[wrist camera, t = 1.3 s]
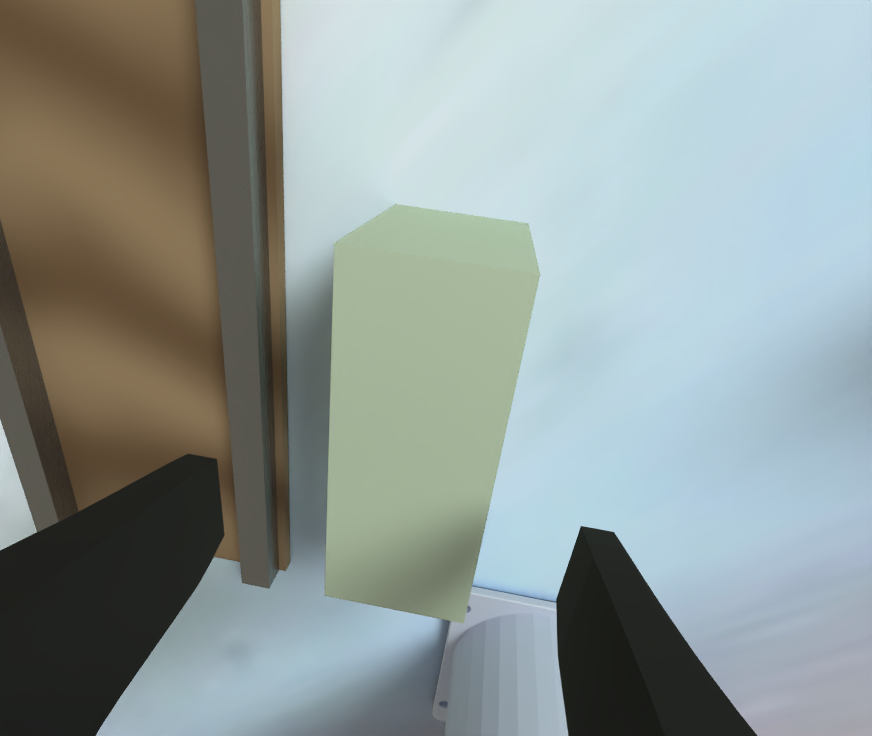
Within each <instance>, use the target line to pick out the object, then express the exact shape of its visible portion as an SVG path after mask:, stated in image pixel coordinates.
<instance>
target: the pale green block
mask: <svg viewBox="0 0 872 736" xmlns="http://www.w3.org/2000/svg"><path fill="white" fill-rule="evenodd" d="M539 277H540V271H539V267H538V263H537V259H536V254H535V250H534V246H533V241H532V237H531V233H530V229H529V224H528V223H522V222H515V221H508V220H501V219H494V218H487V217H480V216H474V215H467V214H460V213H453V212H446V211H439V210H432V209H425V208H419V207H412V206H405V205H398V204H396V205H394V206H392V207H391V208H389V209H388V210H386V211H384V212H383V213H381V214H380V215H378V216H376V217H375V218H373V219H372V220H370V221H368V222H367V223H365V224H364V225H362V226H360V227H359V228H357V229H356V230H354V231H353V232H351V233H349V234H348V235H346V236H345V237H343V238H341V239H340V240H338V241H337V242H335V243H334V270H333V307H332V344H331V381H330V418H329V455H328V492H327V529H326V566H325V596H329V597H334V598H339V599H344V600H349V601H354V602H359V603H364V604H369V605H374V606H379V607H384V608H389V609H394V610H399V611H404V612H409V613H414V614H419V615H424V616H429V617H434V618H439V619H444V620H449V621H454V622H459V623H464V620H465V616H466V611H467V607H468V602H469V597H470V593H471V588H472V584H473V579H474V575H475V570H476V565H477V561H478V556H479V552H480V547H481V542H482V538H483V533H484V529H485V524H486V520H487V515H488V510H489V506H490V501H491V497H492V492H493V488H494V483H495V478H496V474H497V469H498V465H499V460H500V456H501V451H502V446H503V442H504V437H505V433H506V428H507V424H508V419H509V414H510V410H511V405H512V401H513V396H514V392H515V387H516V382H517V378H518V373H519V369H520V364H521V359H522V355H523V350H524V346H525V341H526V337H527V332H528V327H529V323H530V318H531V314H532V309H533V305H534V300H535V295H536V291H537V286H538V282H539Z"/></svg>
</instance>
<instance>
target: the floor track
mask: <svg viewBox="0 0 872 736" xmlns="http://www.w3.org/2000/svg"><path fill="white" fill-rule="evenodd" d="M0 419H1V422H2V425H3V429H4V432H5V435H6V438H7V441H8V444H9V447H10V450H11V453H12V456H13V459H14V462H15V465H16V468H17V471H18V475H19V478H20V481H21V484H22V487H23V490H24V493H25V496H26V499H27V502H28V505H29V508H30V511H31V514H32V518H33V521H34V524H35V527H36V530H37V532H39V531H41V530H43V529H45V528H47V527H49V526H51V525H53V524H55V523H57V522H59V521H61V520H63V519H65V518H67V517H69V516H71V515H73V514H75V513H77V512H79V511H81V510H82V509H84V508H86V507H88V506H90V505H92V504H94V503H96V502H97V501H99V500H101V499H103V498H105V497H107V496H109V495H111V494H112V493H114V492H116V491H118V490H120V489H122V488H124V487H125V486H127V485H129V484H131V483H133V482H135V481H137V480H138V479H140V478H142V477H144V476H146V475H148V474H149V473H151V472H153V471H155V470H157V469H159V468H161V467H162V466H164V465H166V464H168V463H170V462H172V461H174V460H176V459H178V458H180V457H182V456H184V455H186V454H193V455H199V456H204V457H209V458H215V459H217V463H218V473H219V483H220V493H221V503H222V513H223V523H224V533H225V536H224V537H223V539H222V541H221V543H220V545H219V547H218V549H217V551H216V553H215V555H214V557H218V558H223V559H228V560H233V561H238V562H240V563H241V575H242V583H245V584H250V585H255V586H260V587H265V588H270V586H271V584H272V582H273V580H274V579H275V577H276V575H277V573H278V571H279V570H284V571H286V569H287V568H288V566H289V564H290V519H289V463H288V408H287V352H286V297H285V241H284V186H283V130H282V75H281V19H280V0H0Z"/></svg>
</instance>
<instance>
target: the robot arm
mask: <svg viewBox="0 0 872 736" xmlns="http://www.w3.org/2000/svg"><path fill="white" fill-rule="evenodd" d="M224 536H225V533H224V523H223V513H222V503H221V493H220V483H219V473H218V463H217V459H215V458H209V457H204V456H199V455H193V454H186V455H184V456H182V457H180V458H178V459H176V460H174V461H172V462H170V463H168V464H166V465H164V466H162V467H161V468H159V469H157V470H155V471H153V472H151V473H149V474H148V475H146V476H144V477H142V478H140V479H138V480H137V481H135V482H133V483H131V484H129V485H127V486H125V487H124V488H122V489H120V490H118V491H116V492H114V493H112V494H111V495H109V496H107V497H105V498H103V499H101V500H99V501H97V502H96V503H94V504H92V505H90V506H88V507H86V508H84V509H82V510H81V511H79V512H77V513H75V514H73V515H71V516H69V517H67V518H65V519H63V520H61V521H59V522H57V523H55V524H53V525H51V526H49V527H47V528H45V529H43V530H41V531H39V532H37V533H35V534H33V535H31V536H29V537H27V538H25V539H23V540H21V541H19V542H17V543H15V544H13V545H11V546H9V547H7V548H5V549H3V550H1V551H0V736H96V734H97V732H98V730H99V729H100V727H101V725H102V724H103V722H104V721H105V719H106V718H107V716H108V715H109V713H110V712H111V710H112V709H113V707H114V706H115V704H116V702H117V701H118V699H119V698H120V696H121V695H122V694H123V692H124V691H125V689H126V688H127V686H128V685H129V684H130V682H131V681H132V679H133V678H134V676H135V675H136V674H137V672H138V671H139V669H140V668H141V666H142V665H143V664H144V662H145V661H146V659H147V658H148V656H149V655H150V654H151V652H152V651H153V649H154V648H155V646H156V645H157V644H158V642H159V641H160V639H161V638H162V636H163V635H164V634H165V632H166V631H167V629H168V628H169V626H170V625H171V624H172V622H173V621H174V619H175V618H176V616H177V615H178V613H179V612H180V611H181V609H182V608H183V606H184V605H185V603H186V602H187V600H188V599H189V597H190V596H191V595H192V593H193V592H194V590H195V589H196V587H197V586H198V584H199V583H200V581H201V579H202V577H203V575H204V573H205V572H206V570H207V568H208V566H209V564H210V563H211V561H212V559H213V557H214V555H215V553H216V551H217V549H218V547H219V545H220V543H221V541H222V539H223V537H224ZM432 715H433V717H434V718H435V719H436V720H438V721H442V722H446V727H445V736H757V735H756V733H755V732H754V731H753V730H752V728H751V727H750V726H749V725H748V723H747V722H746V721H745V720H744V718H743V717H742V716H741V715H740V713H739V712H738V711H737V710H736V708H735V707H734V706H733V704H732V703H731V702H730V700H729V699H728V698H727V696H726V695H725V694H724V692H723V691H722V690H721V689H720V687H719V686H718V685H717V683H716V682H715V681H714V679H713V678H712V677H711V675H710V674H709V673H708V671H707V670H706V668H705V667H704V666H703V664H702V663H701V662H700V660H699V659H698V657H697V656H696V655H695V653H694V652H693V650H692V649H691V648H690V646H689V645H688V643H687V642H686V640H685V639H684V638H683V636H682V635H681V633H680V632H679V630H678V629H677V627H676V626H675V625H674V623H673V622H672V620H671V619H670V617H669V616H668V614H667V613H666V611H665V610H664V608H663V607H662V605H661V604H660V603H659V601H658V599H657V598H656V596H655V595H654V593H653V592H652V590H651V589H650V587H649V586H648V584H647V583H646V581H645V580H644V578H643V576H642V575H641V573H640V572H639V570H638V569H637V567H636V566H635V564H634V562H633V561H632V559H631V558H630V556H629V555H628V553H627V552H626V550H625V548H624V547H623V545H622V544H621V542H620V541H619V539H618V538H617V536H616V535H615V533H614V532H610V531H605V530H599V529H594V528H589V527H583V526H581V528H580V531H579V534H578V537H577V540H576V543H575V546H574V549H573V552H572V555H571V558H570V561H569V564H568V567H567V570H566V573H565V576H564V578H563V581H562V584H561V587H560V590H559V593H558V596H557V599H556V603H555V602H549V601H544V600H539V599H534V598H529V597H524V596H519V595H514V594H509V593H504V592H499V591H493V590H488V589H483V588H478V587H473V586H472V588H471V593H470V597H469V602H468V607H467V611H466V616H465V620H464V623H459V622H454V621H450V623H449V628H448V633H447V638H446V643H445V648H444V653H443V658H442V663H441V668H440V673H439V678H438V683H437V688H436V693H435V698H434V704H433V709H432Z"/></svg>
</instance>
